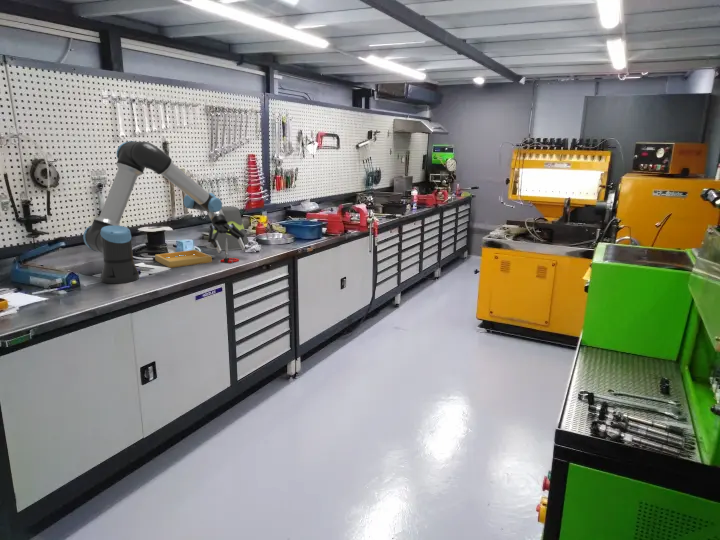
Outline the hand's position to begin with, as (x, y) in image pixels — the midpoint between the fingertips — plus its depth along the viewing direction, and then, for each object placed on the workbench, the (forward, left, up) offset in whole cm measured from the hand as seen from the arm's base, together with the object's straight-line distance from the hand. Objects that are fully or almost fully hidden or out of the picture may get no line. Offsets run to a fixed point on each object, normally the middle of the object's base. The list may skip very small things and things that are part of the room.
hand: (232, 250), depth 250 cm
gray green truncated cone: (+19, +40, -6) cm, 45 cm away
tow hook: (0, +2, -7) cm, 7 cm away
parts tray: (-20, +15, -6) cm, 26 cm away
